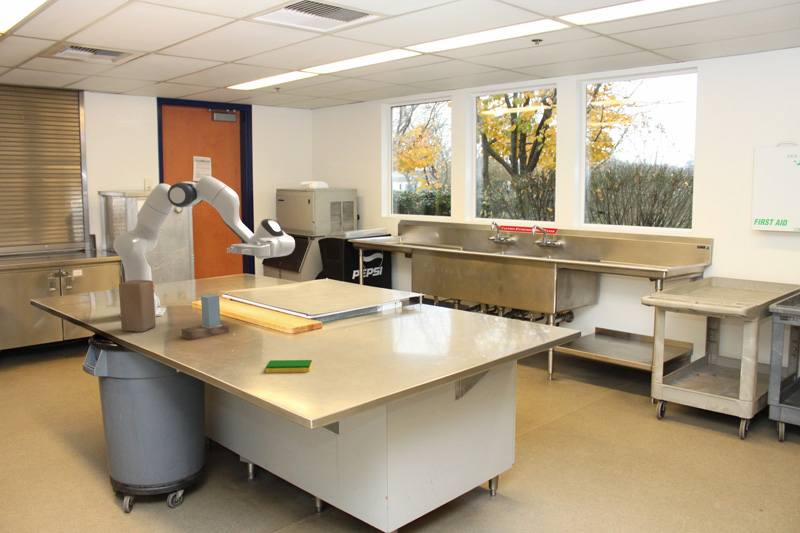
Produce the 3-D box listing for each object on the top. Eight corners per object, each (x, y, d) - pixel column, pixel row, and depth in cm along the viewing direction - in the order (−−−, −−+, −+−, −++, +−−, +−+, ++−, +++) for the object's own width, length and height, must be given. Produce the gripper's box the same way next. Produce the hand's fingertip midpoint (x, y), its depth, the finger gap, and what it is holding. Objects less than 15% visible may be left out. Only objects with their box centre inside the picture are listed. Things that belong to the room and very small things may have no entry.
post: (213, 323, 260) (212, 294, 259) (220, 325, 257) (219, 295, 255) (202, 325, 257) (201, 296, 255) (209, 327, 253) (207, 297, 252)
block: (142, 332, 259) (139, 283, 257) (120, 331, 261) (117, 283, 259) (156, 327, 269) (153, 280, 266) (135, 326, 271) (132, 279, 268)
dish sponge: (309, 373, 204) (309, 365, 204) (265, 373, 204) (265, 366, 204) (312, 366, 211) (311, 359, 211) (270, 367, 211) (269, 360, 211)
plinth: (217, 329, 263) (217, 322, 263) (228, 332, 258) (228, 324, 258) (181, 336, 252) (181, 329, 251) (192, 340, 246) (192, 332, 246)
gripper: (247, 239, 278) (219, 242, 268) (276, 242, 265) (248, 245, 255) (248, 253, 279) (220, 257, 269) (277, 257, 266) (249, 260, 255)
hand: (234, 251), depth 262 cm, fingers open, 8 cm apart
